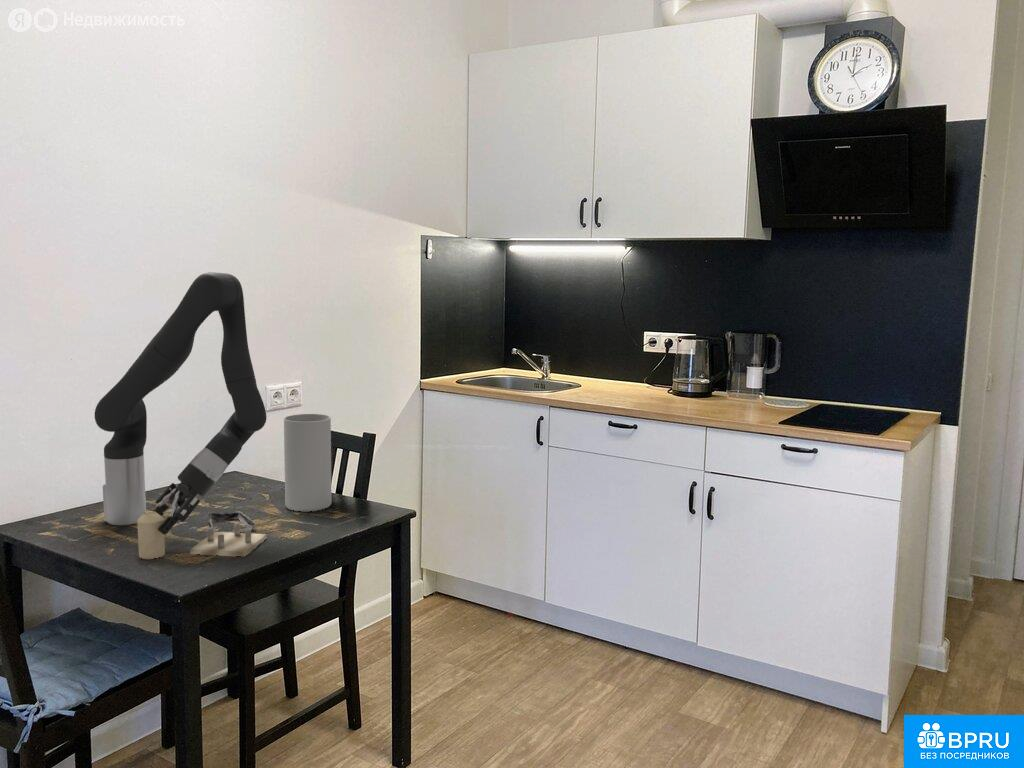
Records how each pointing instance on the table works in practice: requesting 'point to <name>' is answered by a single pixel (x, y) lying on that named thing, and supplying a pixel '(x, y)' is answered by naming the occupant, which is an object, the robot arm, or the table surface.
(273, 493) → the table surface
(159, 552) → the candle
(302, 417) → the cylinder vase
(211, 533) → the candle plate
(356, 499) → the table surface
